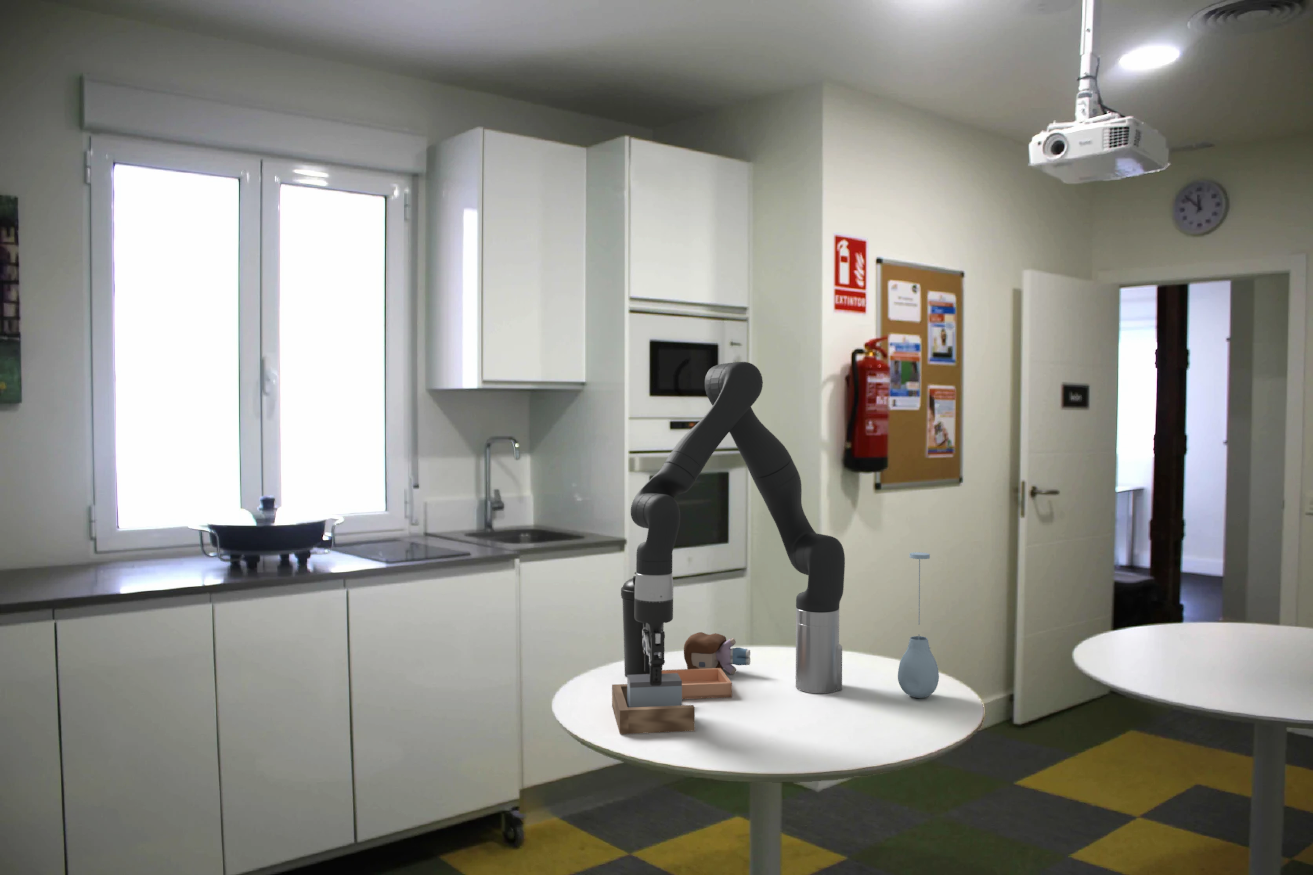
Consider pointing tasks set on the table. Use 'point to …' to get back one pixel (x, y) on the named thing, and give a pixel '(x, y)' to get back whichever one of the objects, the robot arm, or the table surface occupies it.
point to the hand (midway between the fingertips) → (652, 679)
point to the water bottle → (632, 632)
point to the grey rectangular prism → (654, 691)
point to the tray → (703, 683)
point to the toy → (714, 652)
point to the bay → (650, 715)
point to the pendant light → (918, 660)
